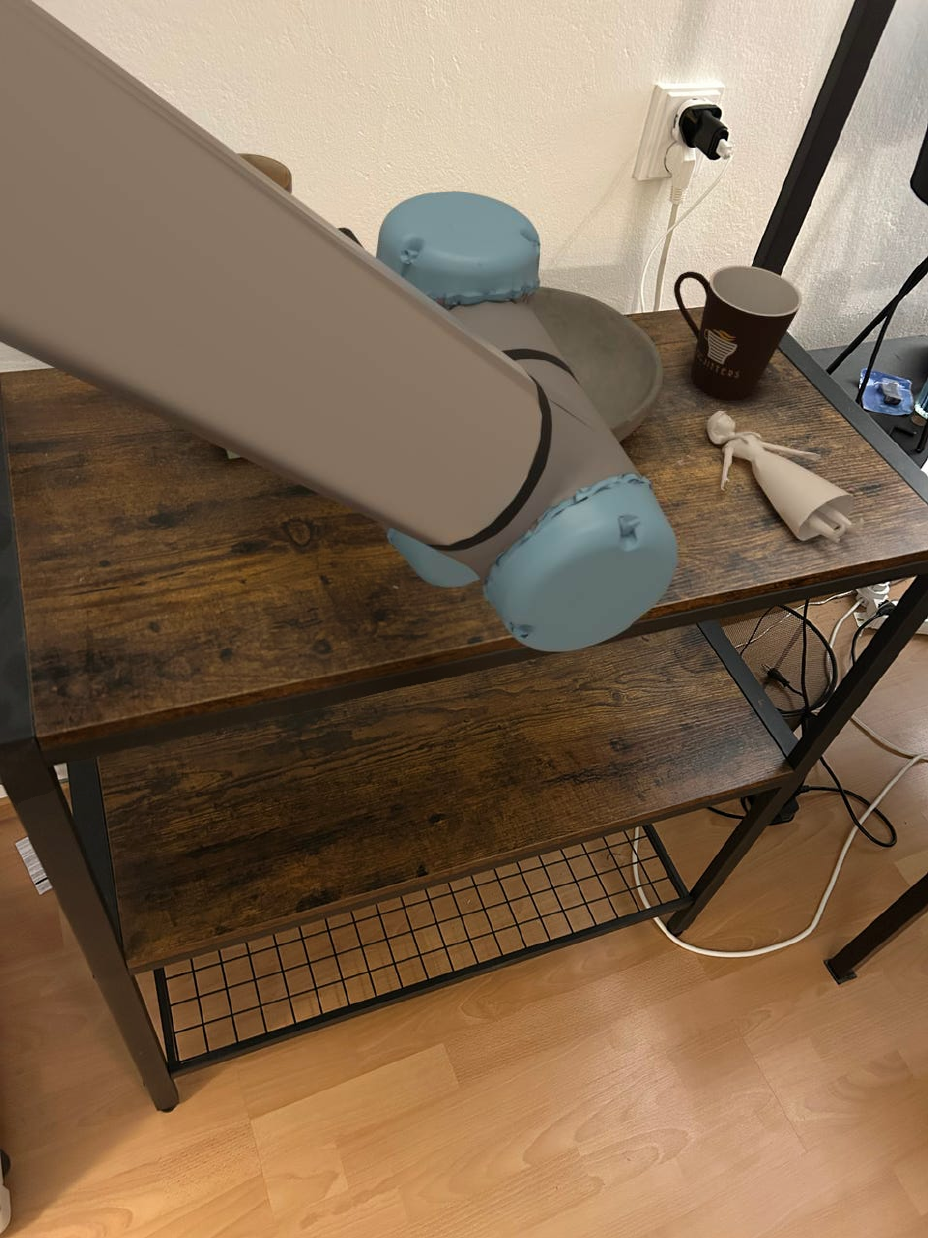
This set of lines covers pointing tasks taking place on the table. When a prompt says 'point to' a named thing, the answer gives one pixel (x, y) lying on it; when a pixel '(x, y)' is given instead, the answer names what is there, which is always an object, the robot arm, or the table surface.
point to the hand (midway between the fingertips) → (223, 209)
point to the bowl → (603, 356)
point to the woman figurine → (787, 483)
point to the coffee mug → (738, 327)
